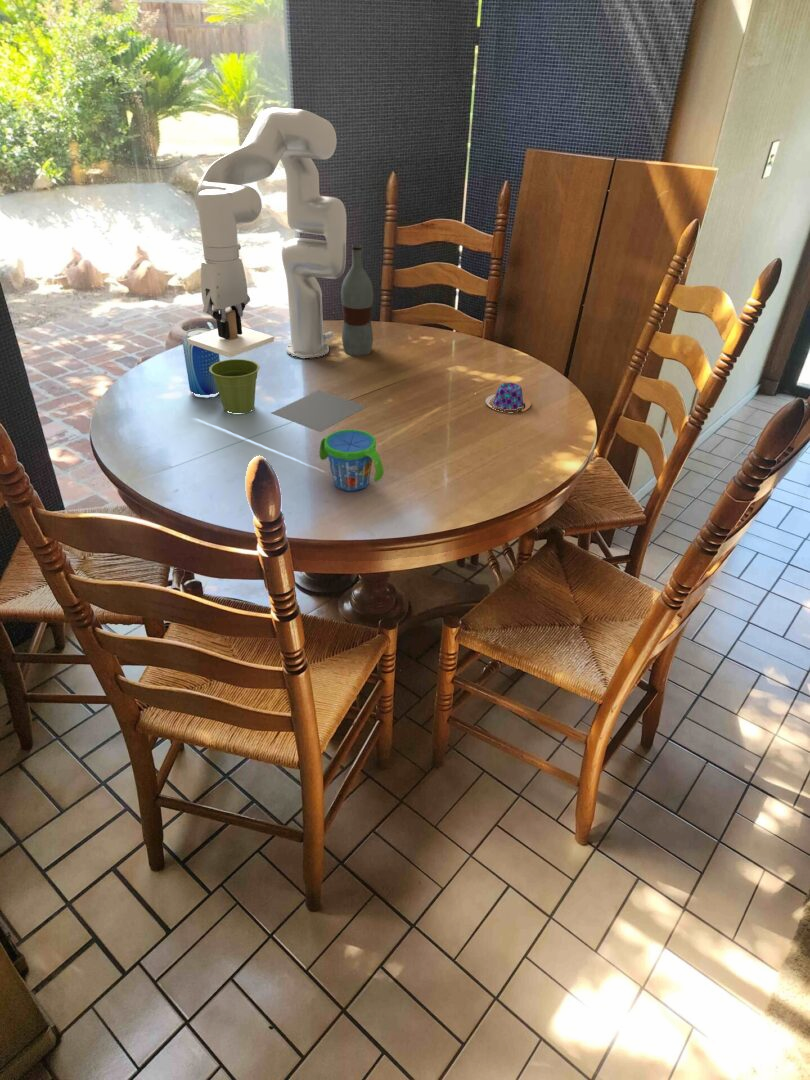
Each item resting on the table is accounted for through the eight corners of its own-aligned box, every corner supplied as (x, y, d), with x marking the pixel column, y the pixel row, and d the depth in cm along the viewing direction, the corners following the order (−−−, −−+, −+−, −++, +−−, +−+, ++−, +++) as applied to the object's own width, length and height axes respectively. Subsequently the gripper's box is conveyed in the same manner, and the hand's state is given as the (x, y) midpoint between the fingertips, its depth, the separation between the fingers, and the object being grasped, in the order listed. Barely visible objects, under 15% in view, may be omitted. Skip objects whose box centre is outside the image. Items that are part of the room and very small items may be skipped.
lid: (232, 328, 173) (229, 298, 169) (274, 341, 167) (271, 311, 162) (188, 343, 164) (183, 312, 159) (230, 357, 157) (226, 325, 153)
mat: (319, 392, 186) (319, 390, 186) (366, 408, 179) (366, 406, 178) (271, 415, 174) (270, 412, 173) (320, 433, 167) (319, 431, 166)
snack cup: (307, 478, 150) (305, 435, 144) (344, 461, 156) (343, 420, 150) (358, 507, 141) (358, 463, 135) (394, 488, 148) (395, 445, 142)
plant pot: (271, 404, 179) (267, 361, 172) (250, 423, 170) (245, 379, 163) (228, 397, 181) (223, 355, 175) (206, 416, 172) (200, 373, 165)
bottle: (378, 349, 212) (380, 245, 195) (361, 359, 206) (361, 251, 189) (353, 343, 216) (352, 240, 199) (335, 351, 210) (333, 246, 192)
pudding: (480, 410, 181) (482, 391, 178) (491, 392, 190) (493, 374, 187) (526, 418, 178) (528, 399, 175) (535, 400, 187) (538, 381, 184)
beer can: (205, 402, 178) (196, 341, 169) (183, 393, 182) (174, 332, 173) (230, 392, 184) (223, 332, 175) (209, 383, 188) (201, 324, 179)
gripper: (237, 243, 161) (244, 323, 171) (180, 256, 150) (192, 341, 160) (260, 249, 157) (267, 330, 168) (204, 262, 146) (214, 348, 157)
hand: (230, 334), depth 164 cm, fingers closed on lid, 3 cm apart
